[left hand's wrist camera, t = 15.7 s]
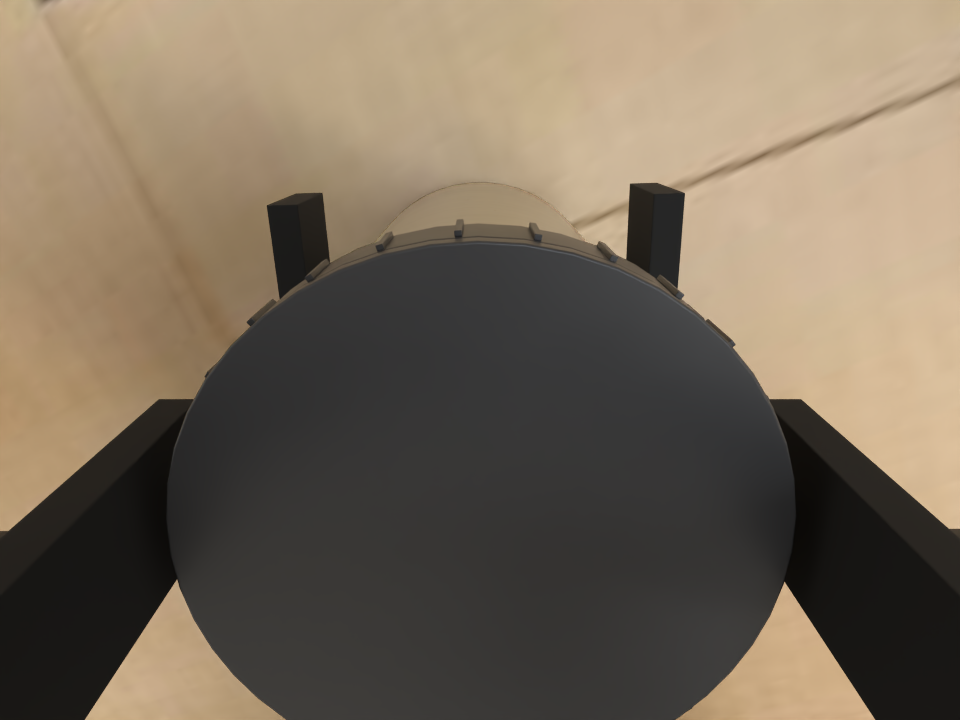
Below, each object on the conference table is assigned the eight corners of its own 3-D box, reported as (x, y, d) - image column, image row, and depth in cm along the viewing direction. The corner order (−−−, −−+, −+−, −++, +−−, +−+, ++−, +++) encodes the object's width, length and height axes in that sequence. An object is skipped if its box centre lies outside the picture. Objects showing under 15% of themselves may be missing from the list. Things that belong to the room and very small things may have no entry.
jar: (557, 147, 23) (676, 190, 9) (622, 368, 26) (787, 658, 12) (327, 229, 24) (117, 383, 10) (414, 434, 27) (343, 773, 13)
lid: (89, 361, 11) (27, 400, 10) (661, 112, 10) (694, 111, 8) (358, 760, 14) (343, 837, 13) (816, 615, 13) (861, 682, 11)
